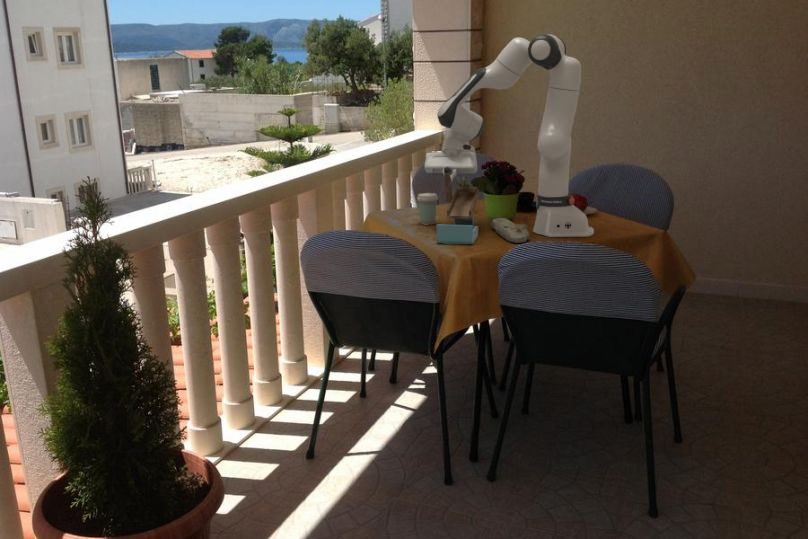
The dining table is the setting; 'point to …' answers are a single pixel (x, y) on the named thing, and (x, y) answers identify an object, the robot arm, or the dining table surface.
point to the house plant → (462, 183)
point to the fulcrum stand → (465, 221)
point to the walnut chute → (460, 199)
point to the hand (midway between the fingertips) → (448, 180)
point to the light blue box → (456, 234)
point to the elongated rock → (510, 230)
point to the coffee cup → (427, 207)
